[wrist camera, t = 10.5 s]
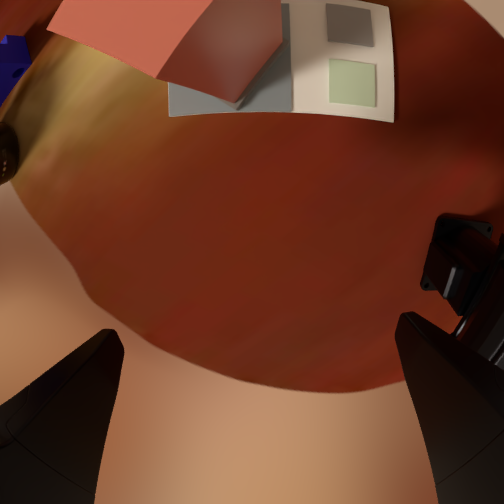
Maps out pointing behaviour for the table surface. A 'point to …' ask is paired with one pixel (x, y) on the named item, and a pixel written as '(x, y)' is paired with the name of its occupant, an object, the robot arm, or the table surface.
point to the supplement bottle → (7, 153)
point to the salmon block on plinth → (183, 39)
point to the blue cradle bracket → (12, 63)
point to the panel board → (318, 65)
